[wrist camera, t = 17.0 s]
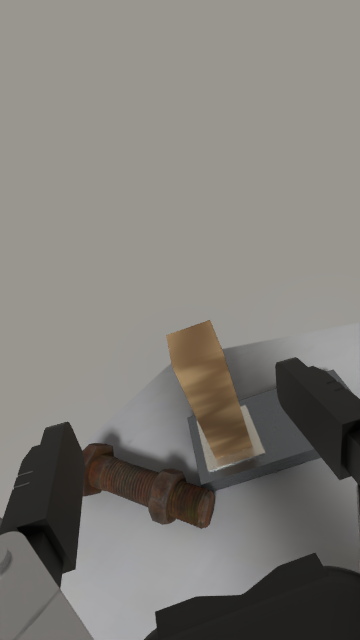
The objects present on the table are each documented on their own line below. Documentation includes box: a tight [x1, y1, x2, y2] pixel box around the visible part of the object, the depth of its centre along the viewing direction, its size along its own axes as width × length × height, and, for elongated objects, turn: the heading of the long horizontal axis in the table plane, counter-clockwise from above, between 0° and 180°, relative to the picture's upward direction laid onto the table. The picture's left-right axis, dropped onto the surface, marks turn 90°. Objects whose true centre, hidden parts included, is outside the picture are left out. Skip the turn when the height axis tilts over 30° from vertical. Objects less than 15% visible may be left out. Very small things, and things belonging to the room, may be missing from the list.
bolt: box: [82, 443, 215, 529], centre depth 31 cm, size 6×5×15 cm
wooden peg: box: [167, 320, 253, 459], centre depth 28 cm, size 4×4×14 cm
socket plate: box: [188, 370, 351, 492], centre depth 33 cm, size 18×8×2 cm, turn 99°
